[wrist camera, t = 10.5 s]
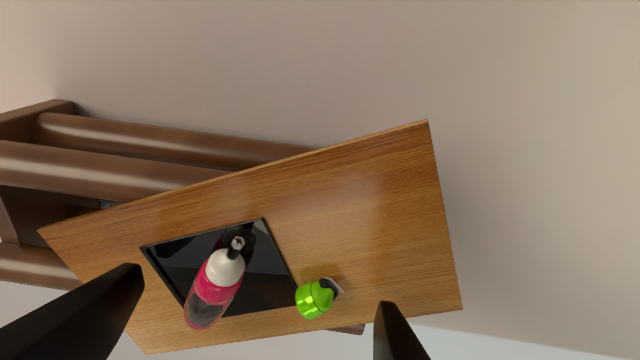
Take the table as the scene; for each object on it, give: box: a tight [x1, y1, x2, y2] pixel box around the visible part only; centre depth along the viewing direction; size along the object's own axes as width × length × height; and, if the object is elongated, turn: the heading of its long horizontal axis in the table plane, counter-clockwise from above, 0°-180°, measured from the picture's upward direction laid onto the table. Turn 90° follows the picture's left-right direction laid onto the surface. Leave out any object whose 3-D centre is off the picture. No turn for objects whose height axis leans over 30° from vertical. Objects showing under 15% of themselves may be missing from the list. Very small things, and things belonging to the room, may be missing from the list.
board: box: [36, 119, 463, 355], centre depth 9 cm, size 6×12×2 cm, turn 109°
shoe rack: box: [0, 99, 365, 335], centre depth 12 cm, size 6×14×5 cm, turn 84°
